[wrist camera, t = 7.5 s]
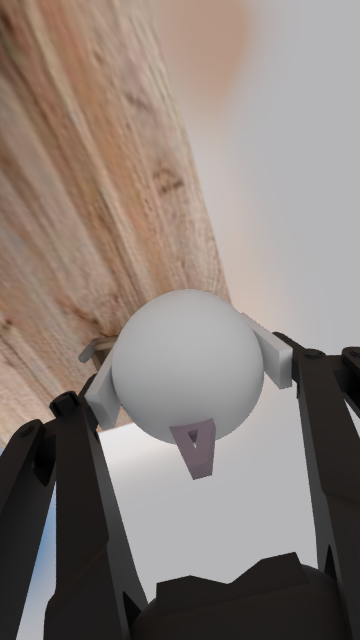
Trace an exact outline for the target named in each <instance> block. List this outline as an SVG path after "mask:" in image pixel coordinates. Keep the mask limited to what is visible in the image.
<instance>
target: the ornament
mask: <svg viewBox="0 0 360 640" xmlns="http://www.w3.org/2000/svg"><path fill="white" fill-rule="evenodd" d="M112 378H113V383H114V387H115V391H116V394H117V396H118V399H119V401H120V403H121V405H122V406H123V408H124V410H125V411H126V413H127V414H128V416H129V417H130V418H131V419H132V420H133V422H134V423H135V424H136V425H137V426H138V427H140V428H141V429H142V430H143V431H144V432H146V433H148V434H149V435H151V436H152V437H154V438H157V439H159V440H162V441H164V442H167V443H171V444H176V445H177V446H178V448H179V450H180V452H181V455H182V457H183V459H184V461H185V463H186V465H187V467H188V470H189V472H190V474H191V476H192V478H193V480H195V479H199V478H203V477H206V476H210V475H212V469H213V458H214V446H215V440H218V439H220V438H222V437H224V436H226V435H228V434H229V433H231V432H232V431H234V430H235V429H236V428H237V427H238V426H240V425H241V424H242V423H243V422H244V421H245V419H246V418H247V417H248V416H249V414H250V413H251V412H252V410H253V409H254V407H255V405H256V403H257V401H258V399H259V396H260V394H261V391H262V387H263V381H264V362H263V356H262V352H261V348H260V345H259V342H258V340H257V338H256V336H255V334H254V332H253V330H252V328H251V327H250V325H249V324H248V322H247V321H246V320H245V318H244V317H243V316H242V315H241V314H240V313H239V312H238V311H237V310H236V309H235V308H234V307H233V306H232V305H230V304H229V303H228V302H226V301H225V300H223V299H222V298H220V297H218V296H216V295H214V294H211V293H209V292H206V291H202V290H196V289H182V290H176V291H171V292H168V293H165V294H163V295H160V296H158V297H156V298H154V299H152V300H151V301H149V302H148V303H146V304H145V305H144V306H142V307H141V308H140V309H139V310H138V311H137V312H136V313H135V314H134V315H133V316H132V317H131V318H130V319H129V320H128V322H127V323H126V325H125V326H124V328H123V329H122V331H121V333H120V335H119V337H118V339H117V341H116V344H115V347H114V351H113V357H112ZM194 445H196V449H195V447H194Z"/></svg>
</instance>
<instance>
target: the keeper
mask: <svg viewBox="0 0 360 640" xmlns="http://www.w3.org/2000/svg"><path fill="white" fill-rule="evenodd" d="M119 335H120V334H119ZM119 335H115V336H110V337H106V338H101V339H98V338H95V339H93V340H92V342H91V343H90V344H89V345H88V346H87V347H86V348H85V349H84V351H83V352H82V353H81V354H80V355H79V357H78V359H79V361H80V362H83V363H85V362H87V361H88V360H89V359H90V357H91V358H92V360H93V362H94V365H95V367H96V369H97V371H98V372H99V370H100V368H101V366H102V365H103V363H104V361H105V360H106V358H107V356H108V354H109V353H110V351H111V349H112V348H113V346H114V344H115V342H116V341H117V339H118V337H119ZM121 406H122V405H121Z"/></svg>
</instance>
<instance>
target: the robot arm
mask: <svg viewBox="0 0 360 640" xmlns="http://www.w3.org/2000/svg"><path fill="white" fill-rule="evenodd" d="M240 314H241V315H242V316H243V317H244V318H245V320H246V321H247V322H248V324H249V325H250V327H251V328H252V330H253V332H254V334H255V336H256V338H257V340H258V342H259V345H260V348H261V352H262V356H263V362H264V371H265V372H266V374H267V375H268V376H269V377H270V378H271V380H272V381H273V382H274V383H275V384H276V385H277V387H278V388H279V389H284V388H288V387H292V379H293V380H294V381H295V382H296V383H297V399H298V401H299V409H300V417H301V425H302V432H303V440H304V448H305V455H306V463H307V470H308V478H309V486H310V494H311V502H312V508H313V517H314V525H315V533H316V546H317V562H318V569H315V568H313V567H310V566H308V565H303V564H301V563H300V561H299V559H298V557H297V554H296V552H292V553H288V554H284V555H279V556H274V557H270V558H265V559H262V560H260V561H259V562H257V563H256V564H255V565H254V566H252V567H251V568H250V569H248V570H247V571H246V572H245V573H243V574H242V575H241V576H239V577H238V578H237V579H236V580H235V581H233V582H232V583H229V584H225V583H221V582H217V581H212V580H208V579H203V578H199V577H195V576H191V575H190V576H186V577H181V578H177V579H173V580H168V581H164V582H160V583H157V588H156V598H155V599H153V600H152V601H151V602H150V603H149V604H148V602H147V599H146V596H145V593H144V591H143V588H142V586H141V583H140V581H139V578H138V575H137V572H136V569H135V565H134V561H133V558H132V554H131V551H130V547H129V543H128V540H127V536H126V532H125V529H124V525H123V522H122V518H121V514H120V511H119V507H118V504H117V500H116V496H115V493H114V489H113V486H112V482H111V478H110V475H109V471H108V468H107V464H106V460H105V457H104V454H103V450H102V446H101V442H100V439H99V435H98V433H97V431H96V429H97V426H98V424H99V425H100V427H101V429H102V430H105V429H109V428H114V426H115V423H116V420H117V416H118V413H119V410H120V406H121V403H120V401H119V399H118V396H117V394H116V391H115V387H114V383H113V378H112V357H113V351H114V347H115V344H116V342H115V344H114V346H113V348H112V349H111V351H110V353H109V354H108V356H107V358H106V360H105V361H104V363H103V365H102V366H101V368H100V370H99V372H98V373H97V374H93V375H92V376H91V377H90V378H89V379H88V380H87V382H86V384H85V385H84V387H83V388H82V390H81V392H80V393H79V395H78V396H77V394H76V393H75V391H68V392H65V393H63V394H61V395H59V396H58V397H56V398H55V399H54V400H53V401H52V402H51V403H50V406H49V408H50V409H51V411H52V412H53V414H54V415H55V417H56V419H54V420H51V421H49V422H47V423H45V424H43V423H42V422H41V420H40V419H35V420H32V421H30V422H28V423H26V424H24V425H23V426H21V427H20V428H19V429H18V430H17V431H16V432H15V433H14V434H13V436H12V437H11V439H10V441H9V442H8V444H7V446H6V448H5V449H4V451H3V453H2V455H1V456H0V640H16V637H17V633H18V629H19V625H20V621H21V617H22V613H23V609H24V605H25V601H26V597H27V593H28V589H29V585H30V581H31V577H32V573H33V569H34V565H35V561H36V557H37V553H38V549H39V545H40V541H41V537H42V533H43V529H44V526H45V522H46V518H47V514H48V510H49V506H50V502H51V498H52V494H53V490H54V486H55V482H56V589H55V593H54V595H53V596H52V597H51V599H50V600H49V601H48V604H47V608H46V611H45V620H44V636H43V640H360V438H359V435H358V433H357V430H356V428H355V425H354V423H353V421H352V418H351V416H350V413H349V411H348V408H347V405H346V403H345V401H346V402H347V403H348V404H349V406H350V407H351V408H352V409H353V411H354V412H355V413H356V415H357V416H358V417H359V418H360V347H346V348H344V349H343V350H342V355H326V354H325V353H323V352H322V351H319V350H316V349H305V348H304V347H302V346H301V345H299V344H298V343H296V342H295V341H292V339H290V338H288V337H287V336H285V335H284V334H282V333H279V332H273V333H271V332H269V331H268V330H267V329H265V328H264V327H263V326H261V325H260V324H258V323H257V322H256V321H254V320H253V319H252V318H250V317H249V316H247V315H246V314H245V313H240ZM344 399H345V400H344Z"/></svg>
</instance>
